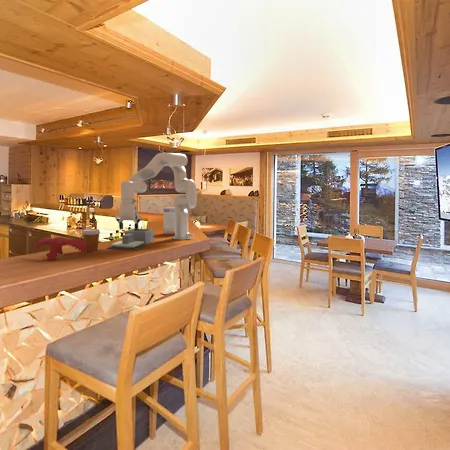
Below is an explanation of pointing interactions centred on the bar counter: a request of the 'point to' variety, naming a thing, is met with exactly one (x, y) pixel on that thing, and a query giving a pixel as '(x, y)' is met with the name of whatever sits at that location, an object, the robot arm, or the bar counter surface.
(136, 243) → the lid
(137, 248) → the mat
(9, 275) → the bar counter surface
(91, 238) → the disposable coffee cup
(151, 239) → the box
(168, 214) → the cracker box
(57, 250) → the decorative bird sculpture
